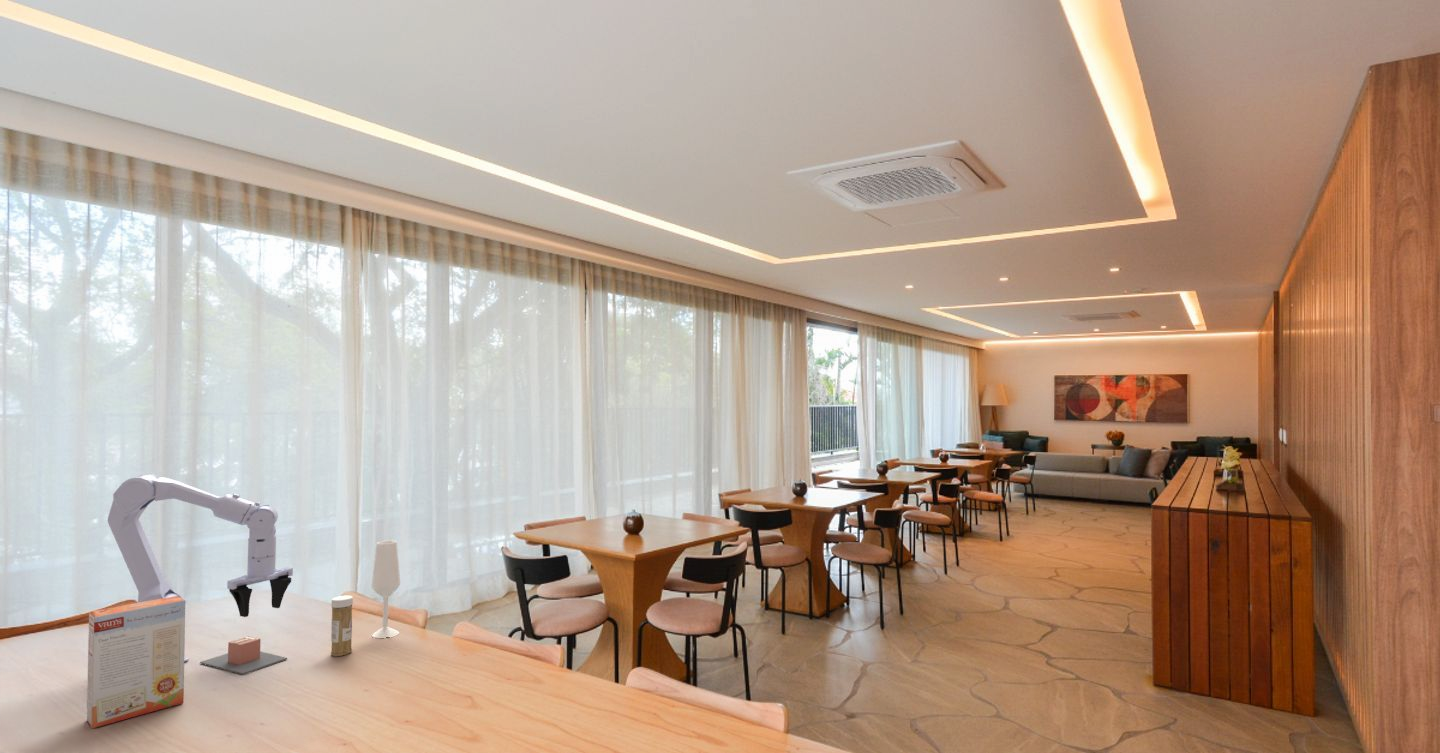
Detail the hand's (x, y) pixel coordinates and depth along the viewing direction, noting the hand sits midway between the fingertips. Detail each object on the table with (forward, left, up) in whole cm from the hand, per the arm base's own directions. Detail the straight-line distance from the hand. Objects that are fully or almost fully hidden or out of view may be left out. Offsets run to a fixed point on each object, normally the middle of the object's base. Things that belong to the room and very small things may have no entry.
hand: (260, 611), depth 167 cm
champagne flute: (+18, +21, -10) cm, 29 cm away
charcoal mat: (+4, -6, -9) cm, 12 cm away
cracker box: (+12, -31, -10) cm, 35 cm away
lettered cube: (+4, -6, -9) cm, 12 cm away
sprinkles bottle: (+20, +7, -10) cm, 23 cm away
